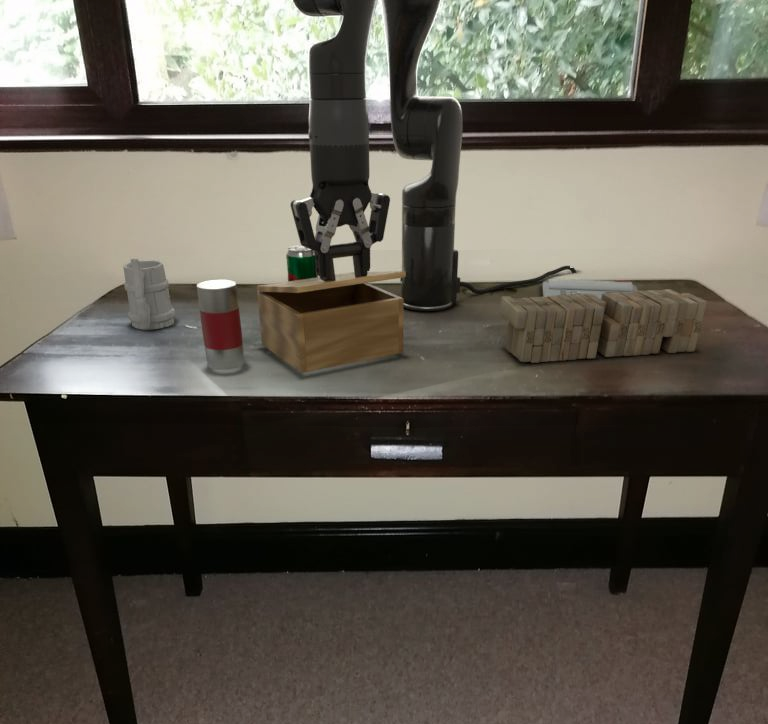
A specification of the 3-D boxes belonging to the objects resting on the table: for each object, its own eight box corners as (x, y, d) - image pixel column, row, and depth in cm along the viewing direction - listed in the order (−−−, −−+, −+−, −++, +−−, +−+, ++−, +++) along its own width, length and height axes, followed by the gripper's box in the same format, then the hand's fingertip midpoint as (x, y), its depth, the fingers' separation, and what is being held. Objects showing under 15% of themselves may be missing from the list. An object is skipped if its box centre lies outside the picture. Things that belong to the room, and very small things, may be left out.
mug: (179, 316, 128) (168, 245, 121) (169, 337, 118) (157, 260, 111) (134, 318, 127) (121, 246, 121) (121, 339, 117) (106, 262, 111)
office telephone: (542, 274, 142) (648, 277, 140) (541, 287, 144) (645, 291, 141) (544, 304, 123) (667, 308, 120) (543, 319, 124) (664, 324, 121)
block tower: (668, 342, 116) (494, 348, 111) (680, 288, 112) (500, 292, 107) (694, 357, 110) (511, 364, 105) (708, 301, 105) (518, 306, 100)
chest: (403, 357, 108) (403, 298, 104) (302, 378, 101) (297, 315, 97) (356, 332, 119) (355, 277, 114) (262, 349, 112) (257, 291, 107)
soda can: (315, 325, 123) (311, 251, 116) (287, 323, 123) (281, 250, 117) (323, 316, 127) (320, 245, 121) (296, 315, 128) (291, 244, 121)
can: (237, 360, 108) (228, 277, 102) (251, 370, 104) (241, 285, 98) (203, 366, 105) (191, 282, 99) (215, 377, 102) (203, 291, 95)
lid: (406, 277, 102) (402, 236, 100) (298, 293, 95) (291, 249, 93) (355, 277, 114) (351, 241, 112) (257, 291, 107) (251, 253, 105)
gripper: (299, 144, 85) (308, 290, 94) (403, 139, 92) (402, 276, 100) (275, 140, 91) (285, 278, 100) (374, 136, 97) (375, 266, 106)
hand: (343, 277), depth 100 cm, fingers closed on lid, 5 cm apart
